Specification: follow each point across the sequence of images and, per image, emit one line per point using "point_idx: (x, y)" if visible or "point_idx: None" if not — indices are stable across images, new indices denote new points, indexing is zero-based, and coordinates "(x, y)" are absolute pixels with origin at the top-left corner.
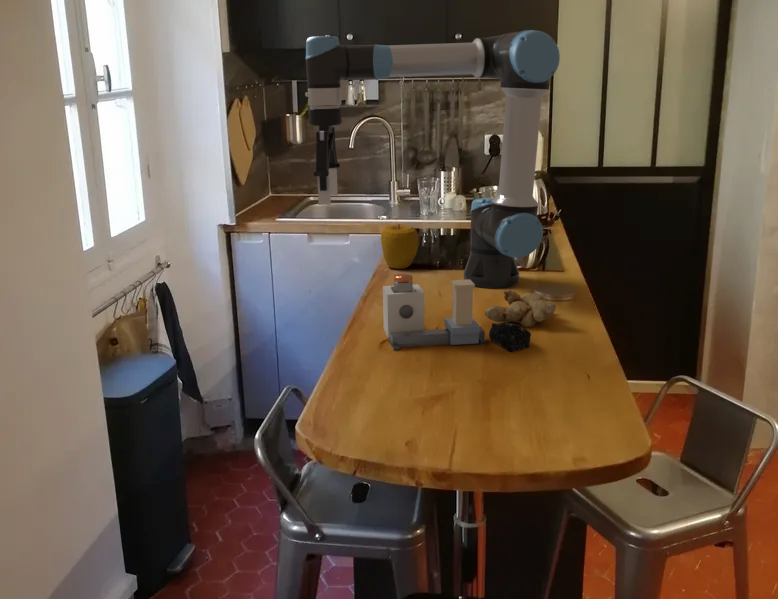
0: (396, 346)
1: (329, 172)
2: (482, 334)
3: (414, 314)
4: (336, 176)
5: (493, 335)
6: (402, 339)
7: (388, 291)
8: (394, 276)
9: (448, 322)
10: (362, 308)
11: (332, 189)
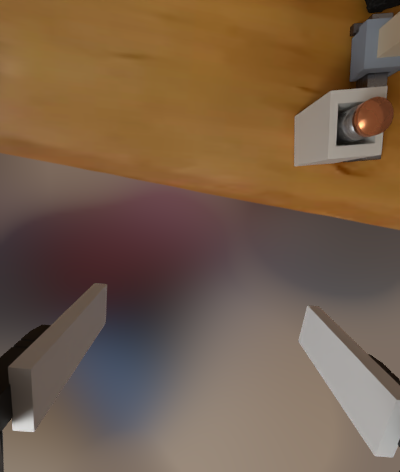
0: (380, 155)
1: (50, 386)
2: None
3: None
4: (63, 332)
5: (390, 2)
6: None
7: (362, 151)
8: (373, 134)
9: (386, 66)
10: (201, 190)
11: (97, 313)
